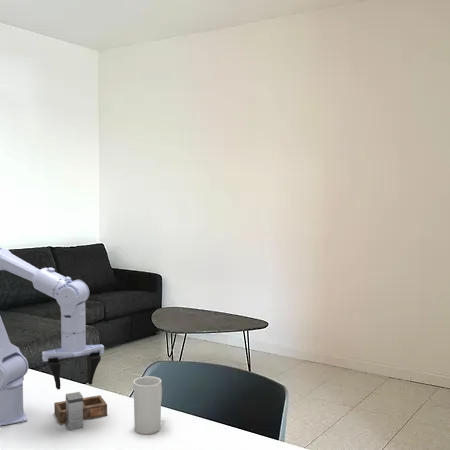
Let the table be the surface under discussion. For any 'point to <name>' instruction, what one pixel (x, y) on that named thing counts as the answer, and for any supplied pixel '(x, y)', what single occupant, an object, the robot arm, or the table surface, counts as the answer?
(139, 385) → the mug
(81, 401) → the plug
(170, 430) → the table surface
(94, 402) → the port block
